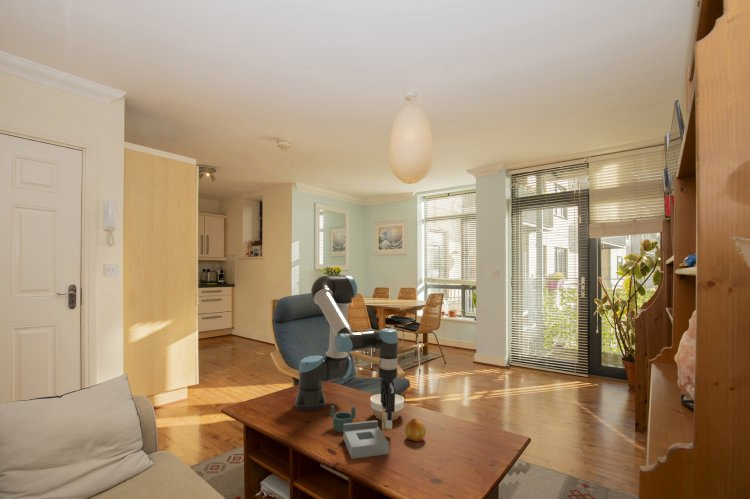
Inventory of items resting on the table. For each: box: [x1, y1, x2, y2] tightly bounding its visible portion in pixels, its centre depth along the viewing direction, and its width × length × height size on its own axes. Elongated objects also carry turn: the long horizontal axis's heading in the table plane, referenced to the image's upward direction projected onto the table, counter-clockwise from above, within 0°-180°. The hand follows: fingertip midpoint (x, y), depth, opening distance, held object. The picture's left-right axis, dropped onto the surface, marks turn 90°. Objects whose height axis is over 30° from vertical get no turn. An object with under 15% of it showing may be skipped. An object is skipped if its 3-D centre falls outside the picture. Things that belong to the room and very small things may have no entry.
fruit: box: [404, 418, 427, 442], centre depth 151 cm, size 8×8×8 cm
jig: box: [342, 420, 390, 460], centre depth 145 cm, size 16×14×6 cm
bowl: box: [369, 393, 405, 421], centre depth 174 cm, size 16×16×8 cm
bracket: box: [330, 405, 356, 433], centre depth 161 cm, size 9×9×9 cm
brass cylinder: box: [381, 407, 393, 431], centre depth 154 cm, size 4×4×8 cm
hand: (386, 424), depth 154 cm, fingers closed on brass cylinder, 4 cm apart
